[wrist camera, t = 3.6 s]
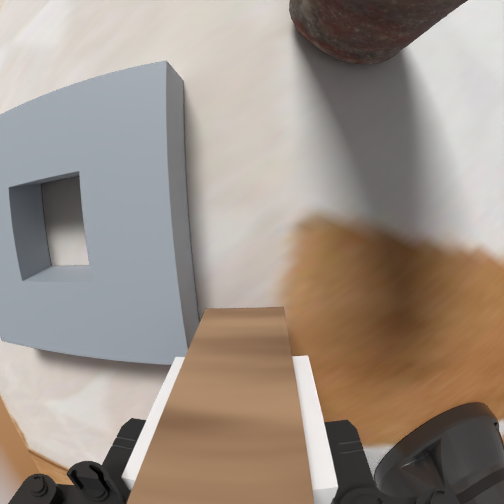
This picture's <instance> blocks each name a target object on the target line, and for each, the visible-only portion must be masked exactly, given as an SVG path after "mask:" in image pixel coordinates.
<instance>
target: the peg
mask: <svg viewBox="0 0 504 504" xmlns="http://www.w3.org/2000/svg"><path fill="white" fill-rule="evenodd" d="M127 504H314V496H313V489H312V482H311V474H310V467H309V460H308V453H307V447H306V440H305V433H304V427H303V420H302V414H301V407H300V401H299V394H298V388H297V382H296V376H295V370H294V364H293V358H292V352H291V346H290V340H289V334H288V328H287V322H286V317H285V311H284V307H266V308H224V309H205V312H204V314H203V316H202V319H201V321H200V323H199V326H198V328H197V330H196V333H195V335H194V337H193V340H192V342H191V345H190V347H189V349H188V352H187V354H186V356H185V359H184V361H183V364H182V366H181V368H180V371H179V373H178V376H177V378H176V380H175V383H174V385H173V388H172V390H171V393H170V395H169V397H168V400H167V402H166V405H165V407H164V410H163V412H162V415H161V417H160V420H159V422H158V425H157V427H156V430H155V432H154V435H153V437H152V440H151V442H150V445H149V447H148V450H147V452H146V455H145V457H144V460H143V462H142V465H141V467H140V470H139V473H138V475H137V478H136V480H135V483H134V485H133V488H132V491H131V493H130V496H129V499H128V501H127Z"/></svg>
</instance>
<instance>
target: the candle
mask: <svg viewBox="0 0 504 504" xmlns="http://www.w3.org/2000/svg"><path fill="white" fill-rule="evenodd" d="M466 1H468V0H290V3H289V11H290V15H291V19H292V21H293V22H294V25H295V27H296V28H297V30H298V31H299V33H300V34H302V35H303V36H304V37H305V38H306V39H308V40H309V41H310V42H311V43H312V44H313V45H314V46H316V47H317V48H319V49H320V50H321V51H323V52H325V53H326V54H328V55H330V56H332V57H334V58H336V59H338V60H340V61H345V62H349V63H357V64H370V63H371V64H374V63H381V62H383V61H385V60H388V59H389V58H391V57H393V56H394V55H396V54H397V53H398V52H399V51H400V50H402V49H403V48H405V47H406V46H408V45H409V44H410V43H412V42H413V41H414V40H415V39H417V38H418V37H419V36H420V35H422V34H423V33H424V32H426V31H427V30H428V29H429V28H431V27H432V26H433V25H435V24H436V23H437V22H439V21H440V20H441V19H442V18H444V17H446V16H447V15H448V14H449V13H450V12H452V11H453V10H455V9H456V8H458V7H459V6H460V5H462V4H463V3H465V2H466Z"/></svg>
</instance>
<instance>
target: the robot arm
mask: <svg viewBox="0 0 504 504" xmlns="http://www.w3.org/2000/svg"><path fill="white" fill-rule="evenodd" d="M292 358H293V364H294V370H295V376H296V382H297V388H298V394H299V401H300V407H301V414H302V420H303V427H304V433H305V440H306V447H307V453H308V460H309V467H310V474H311V482H312V489H313V496H314V504H504V444H503V440H502V437H501V434H500V432H499V423H498V420H497V418H496V416H495V415H494V414H493V413H492V411H491V410H490V409H489V408H488V406H487V405H485V404H483V403H478V402H475V403H468V404H464V405H461V406H458V407H455V408H453V409H451V410H448V411H446V412H444V413H442V414H440V415H439V416H437V417H435V418H433V419H432V420H430V421H428V422H427V423H425V424H424V425H422V426H421V427H419V428H418V429H416V430H415V431H413V432H412V433H411V434H409V435H408V436H407V437H405V438H404V439H403V440H402V441H401V442H399V443H398V444H397V445H396V446H395V447H394V448H393V449H392V450H391V451H390V452H389V453H388V454H387V455H386V456H385V457H384V459H383V460H382V461H381V463H380V464H379V466H378V467H377V470H376V472H375V482H376V485H377V487H376V485H375V483H374V480H373V477H372V474H371V471H370V468H369V465H368V462H367V459H366V456H365V453H364V451H363V446H362V443H361V442H360V438H359V435H358V432H357V429H356V428H355V427H354V426H353V425H352V424H351V423H350V422H349V421H348V420H341V421H333V422H324V420H323V416H322V412H321V407H320V403H319V399H318V395H317V390H316V386H315V382H314V378H313V374H312V370H311V366H310V362H309V358H308V356H292ZM184 359H185V357H175V360H174V362H173V364H172V366H171V368H170V370H169V372H168V375H167V377H166V379H165V381H164V383H163V385H162V387H161V390H160V392H159V394H158V396H157V398H156V401H155V403H154V405H153V407H152V409H151V411H150V414H149V416H148V418H147V420H140V419H134V418H131V419H130V420H129V421H128V422H126V423H125V424H124V425H123V426H122V427H121V429H120V431H119V433H118V435H117V438H116V439H115V441H114V443H113V446H111V448H110V450H109V452H108V454H107V456H106V458H105V460H104V462H103V464H102V465H100V464H99V463H96V462H92V461H82V462H80V463H77V464H75V465H73V466H72V467H71V468H70V469H69V471H68V472H67V476H68V477H69V478H70V480H71V481H72V482H73V484H74V485H63V484H56V483H55V482H54V481H53V479H52V478H50V477H49V476H47V475H44V474H34V475H31V476H29V477H28V478H27V479H26V480H25V481H24V482H23V484H22V485H21V487H20V488H19V489H18V491H17V492H16V493H15V495H14V496H13V498H12V499H11V501H10V502H9V503H8V504H127V501H128V499H129V496H130V493H131V491H132V488H133V485H134V483H135V480H136V478H137V475H138V473H139V470H140V467H141V465H142V462H143V460H144V457H145V455H146V452H147V450H148V447H149V445H150V442H151V440H152V437H153V435H154V432H155V430H156V427H157V425H158V422H159V420H160V417H161V415H162V412H163V410H164V407H165V405H166V402H167V400H168V397H169V395H170V393H171V390H172V388H173V385H174V383H175V380H176V378H177V376H178V373H179V371H180V368H181V366H182V364H183V361H184Z"/></svg>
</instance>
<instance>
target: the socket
mask: <svg viewBox="0 0 504 504" xmlns="http://www.w3.org/2000/svg"><path fill="white" fill-rule="evenodd" d="M75 176H80V191H81V203H82V213H83V222H84V230H85V238H86V245H87V252H88V258H89V264H90V265H75V266H51V261H50V256H49V250H48V244H47V237H46V230H45V222H44V214H43V204H42V192H41V183H46V182H50V181H55V180H60V179H65V178H70V177H75ZM198 326H199V316H198V308H197V300H196V291H195V282H194V272H193V262H192V251H191V240H190V228H189V215H188V200H187V184H186V166H185V142H184V104H183V80H182V78H181V77H180V76H179V75H178V74H177V72H176V71H175V70H174V69H173V68H172V66H171V65H170V64H169V63H168V62H167V61H161V62H156V63H151V64H146V65H141V66H137V67H132V68H128V69H124V70H120V71H116V72H112V73H108V74H105V75H101V76H98V77H94V78H91V79H88V80H85V81H82V82H79V83H75V84H73V85H70V86H67V87H64V88H61V89H58V90H56V91H53V92H50V93H48V94H45V95H43V96H40V97H38V98H36V99H33V100H31V101H28V102H26V103H24V104H22V105H19V106H17V107H15V108H13V109H11V110H9V111H7V112H5V113H3V114H1V115H0V337H1V340H2V341H4V342H9V343H13V344H17V345H22V346H27V347H32V348H37V349H42V350H47V351H53V352H58V353H64V354H71V355H77V356H84V357H91V358H99V359H107V360H116V361H126V362H137V363H150V364H165V365H172V364H173V362H174V360H175V357H185V356H186V354H187V352H188V349H189V347H190V345H191V342H192V340H193V337H194V335H195V333H196V330H197V328H198Z"/></svg>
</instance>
